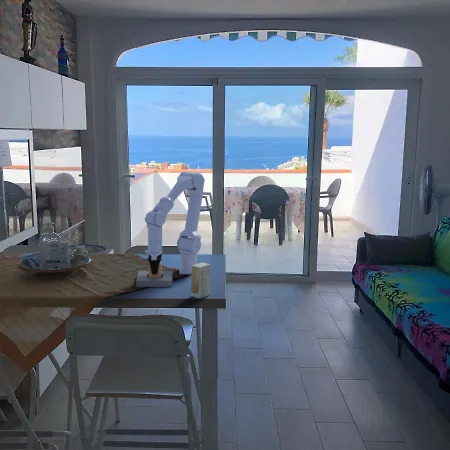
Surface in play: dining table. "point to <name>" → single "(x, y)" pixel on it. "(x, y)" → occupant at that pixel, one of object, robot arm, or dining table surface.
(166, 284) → the socket
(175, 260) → the dining table surface
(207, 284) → the skincare box
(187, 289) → the dining table surface
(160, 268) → the plug
